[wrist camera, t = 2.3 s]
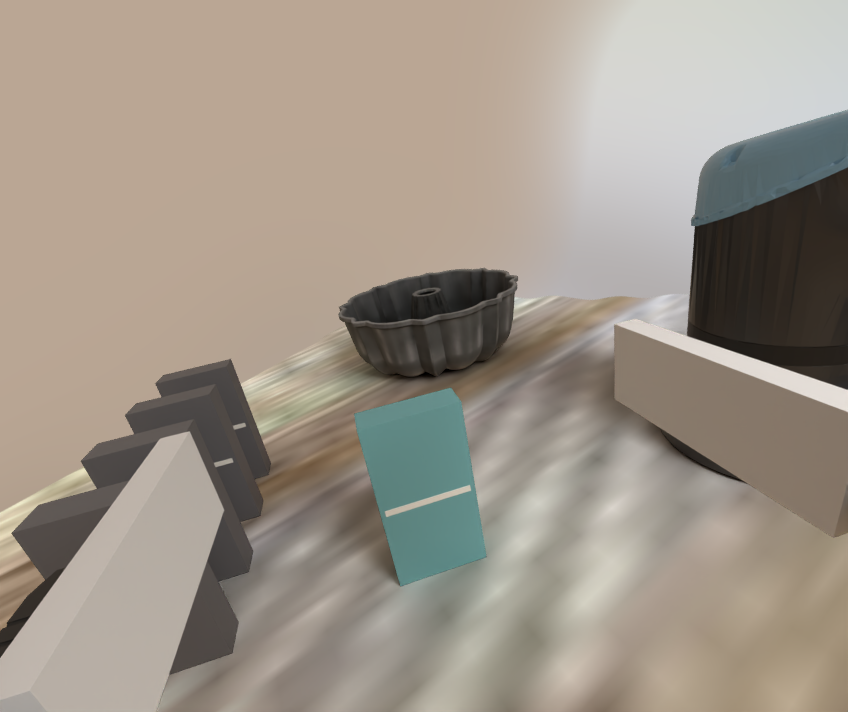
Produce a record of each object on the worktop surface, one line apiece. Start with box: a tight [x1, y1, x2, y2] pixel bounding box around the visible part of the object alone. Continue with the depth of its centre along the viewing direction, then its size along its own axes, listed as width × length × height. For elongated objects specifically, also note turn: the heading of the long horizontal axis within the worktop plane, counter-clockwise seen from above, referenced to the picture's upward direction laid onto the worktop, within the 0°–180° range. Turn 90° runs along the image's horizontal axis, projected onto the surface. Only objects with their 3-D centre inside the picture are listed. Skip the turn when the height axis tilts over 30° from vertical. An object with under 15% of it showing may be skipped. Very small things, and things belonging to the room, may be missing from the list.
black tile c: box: [125, 384, 263, 522], centre depth 34 cm, size 6×2×12 cm, turn 103°
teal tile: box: [354, 388, 486, 586], centre depth 26 cm, size 6×2×12 cm, turn 103°
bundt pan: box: [339, 268, 518, 376], centre depth 62 cm, size 26×26×10 cm
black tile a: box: [12, 480, 239, 675], centre depth 23 cm, size 6×2×12 cm, turn 103°
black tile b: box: [81, 419, 253, 581], centre depth 28 cm, size 6×2×12 cm, turn 103°
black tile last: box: [156, 359, 271, 479], centre depth 39 cm, size 6×2×12 cm, turn 103°
